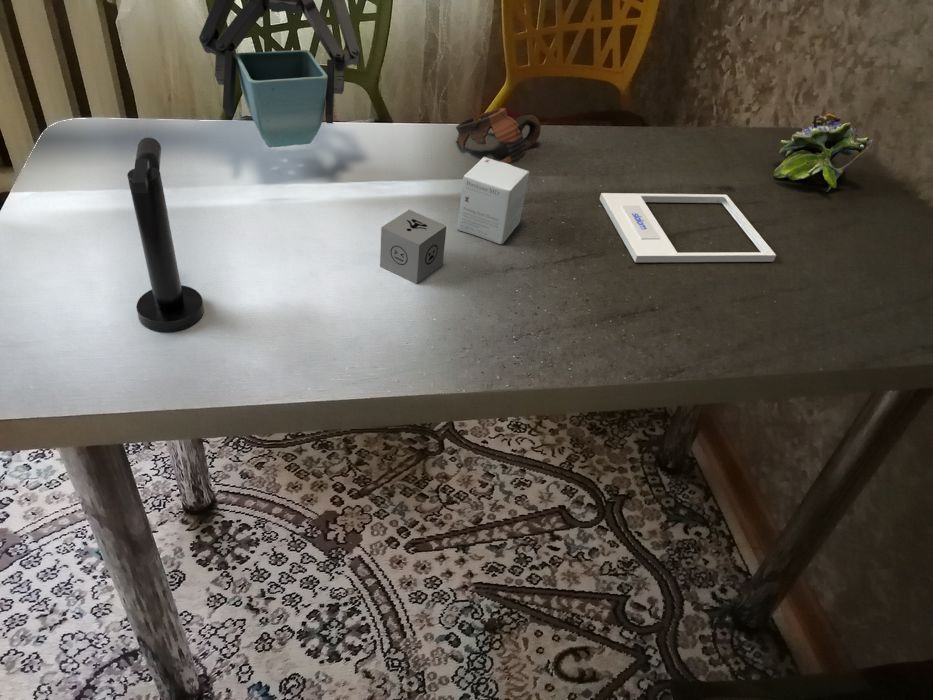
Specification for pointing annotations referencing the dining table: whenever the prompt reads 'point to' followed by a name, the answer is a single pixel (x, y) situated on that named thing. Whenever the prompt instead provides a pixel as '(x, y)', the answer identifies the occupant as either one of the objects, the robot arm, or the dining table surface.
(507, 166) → the product box
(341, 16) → the robot arm
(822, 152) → the passion flower
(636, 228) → the photo frame
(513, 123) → the pottery mug
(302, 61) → the flower pot
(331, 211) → the dining table surface
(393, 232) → the dice cube
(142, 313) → the tap
